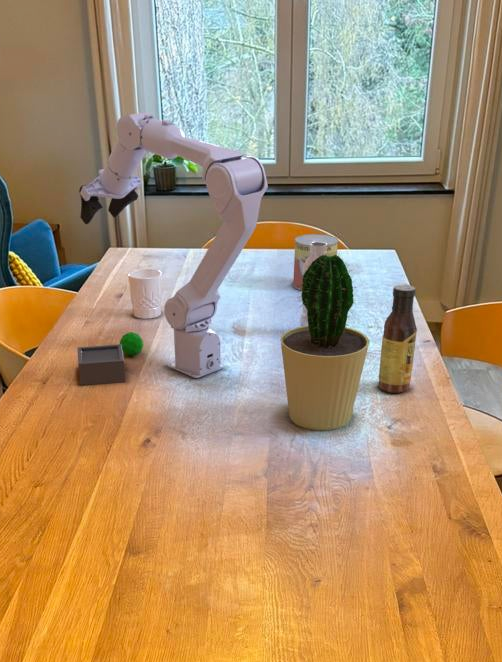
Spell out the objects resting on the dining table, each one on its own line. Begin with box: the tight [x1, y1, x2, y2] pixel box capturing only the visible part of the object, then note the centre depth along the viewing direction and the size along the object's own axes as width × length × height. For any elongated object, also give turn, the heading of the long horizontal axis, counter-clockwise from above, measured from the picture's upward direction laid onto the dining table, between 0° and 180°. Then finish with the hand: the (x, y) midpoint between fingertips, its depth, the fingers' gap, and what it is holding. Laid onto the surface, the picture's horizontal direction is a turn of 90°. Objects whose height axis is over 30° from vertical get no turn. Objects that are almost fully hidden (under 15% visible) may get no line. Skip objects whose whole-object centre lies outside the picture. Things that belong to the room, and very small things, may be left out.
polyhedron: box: [119, 331, 144, 357], centre depth 171 cm, size 5×5×5 cm
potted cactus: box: [280, 251, 370, 431], centre depth 138 cm, size 15×15×30 cm
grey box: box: [76, 343, 127, 386], centre depth 162 cm, size 9×9×5 cm
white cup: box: [127, 268, 163, 320], centre depth 191 cm, size 8×8×10 cm
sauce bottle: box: [378, 284, 418, 394], centre depth 151 cm, size 6×6×20 cm
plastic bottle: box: [299, 242, 327, 327], centre depth 177 cm, size 6×7×20 cm
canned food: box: [292, 233, 339, 291], centre depth 209 cm, size 11×11×12 cm
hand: (98, 217), depth 167 cm, fingers open, 7 cm apart
